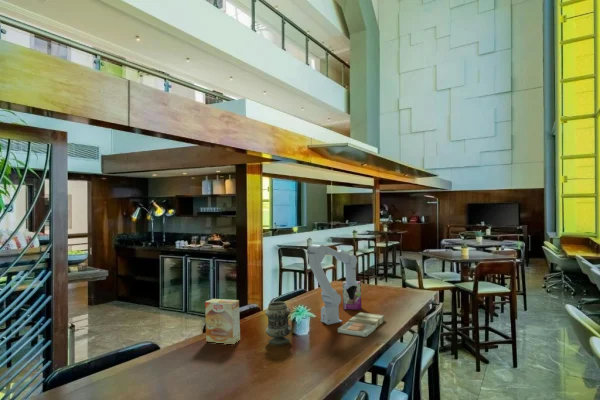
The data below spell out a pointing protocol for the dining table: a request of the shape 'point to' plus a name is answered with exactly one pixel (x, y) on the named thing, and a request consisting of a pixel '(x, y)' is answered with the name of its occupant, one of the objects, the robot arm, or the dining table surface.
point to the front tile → (354, 328)
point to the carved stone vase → (278, 323)
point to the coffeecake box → (222, 321)
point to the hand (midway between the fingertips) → (351, 299)
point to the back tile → (359, 325)
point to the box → (363, 333)
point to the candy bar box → (354, 303)
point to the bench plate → (368, 319)
